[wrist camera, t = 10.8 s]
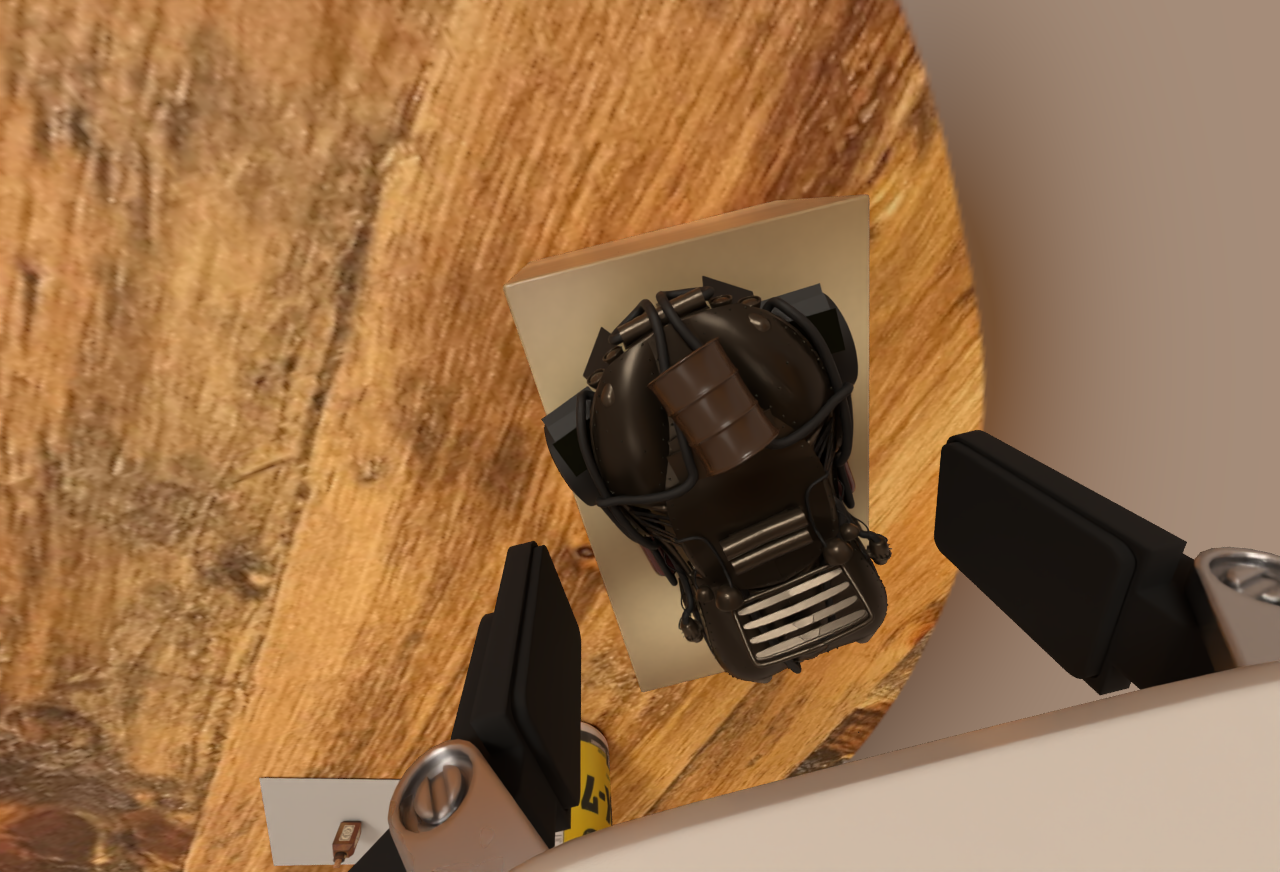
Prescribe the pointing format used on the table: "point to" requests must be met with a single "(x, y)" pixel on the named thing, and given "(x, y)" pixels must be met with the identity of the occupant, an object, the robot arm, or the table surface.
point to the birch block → (638, 269)
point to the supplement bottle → (591, 788)
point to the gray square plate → (324, 818)
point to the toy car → (733, 468)
